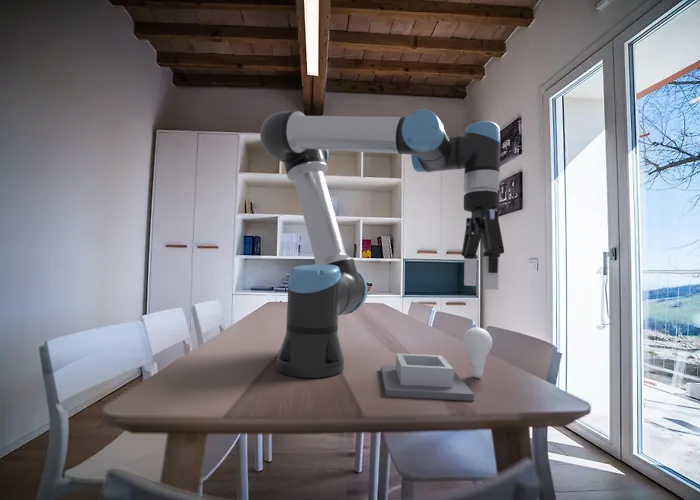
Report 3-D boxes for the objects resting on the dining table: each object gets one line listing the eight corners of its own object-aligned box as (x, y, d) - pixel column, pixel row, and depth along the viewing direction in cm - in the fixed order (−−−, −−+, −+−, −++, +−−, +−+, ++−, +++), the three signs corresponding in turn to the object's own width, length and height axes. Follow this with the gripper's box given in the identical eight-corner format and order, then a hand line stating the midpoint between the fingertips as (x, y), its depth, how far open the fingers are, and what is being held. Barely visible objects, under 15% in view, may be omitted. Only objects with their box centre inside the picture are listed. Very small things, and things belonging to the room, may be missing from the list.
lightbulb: (494, 383, 74) (495, 331, 75) (463, 380, 76) (465, 328, 76) (488, 375, 80) (489, 326, 81) (460, 372, 82) (461, 324, 82)
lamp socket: (385, 396, 65) (386, 370, 65) (380, 370, 81) (381, 349, 81) (474, 400, 64) (474, 374, 64) (451, 373, 80) (452, 352, 80)
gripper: (523, 179, 67) (522, 292, 66) (479, 203, 92) (477, 284, 91) (483, 178, 67) (481, 290, 66) (450, 202, 92) (448, 283, 91)
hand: (479, 287), depth 79 cm, fingers open, 13 cm apart
